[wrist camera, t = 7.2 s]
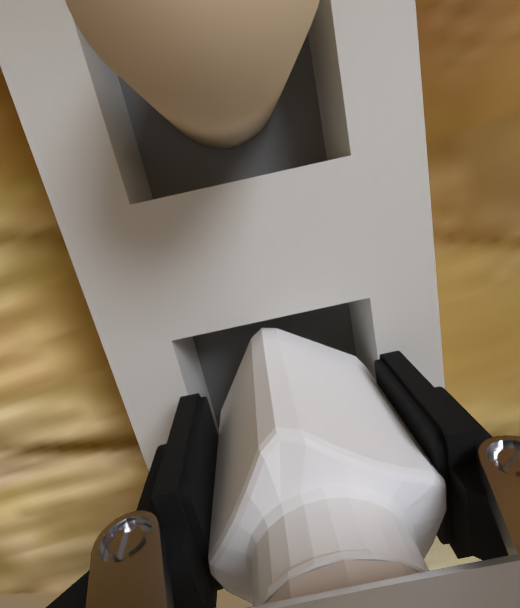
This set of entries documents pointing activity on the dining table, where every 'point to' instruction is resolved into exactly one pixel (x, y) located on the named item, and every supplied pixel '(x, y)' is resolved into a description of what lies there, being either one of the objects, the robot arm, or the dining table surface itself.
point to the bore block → (231, 181)
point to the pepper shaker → (315, 477)
